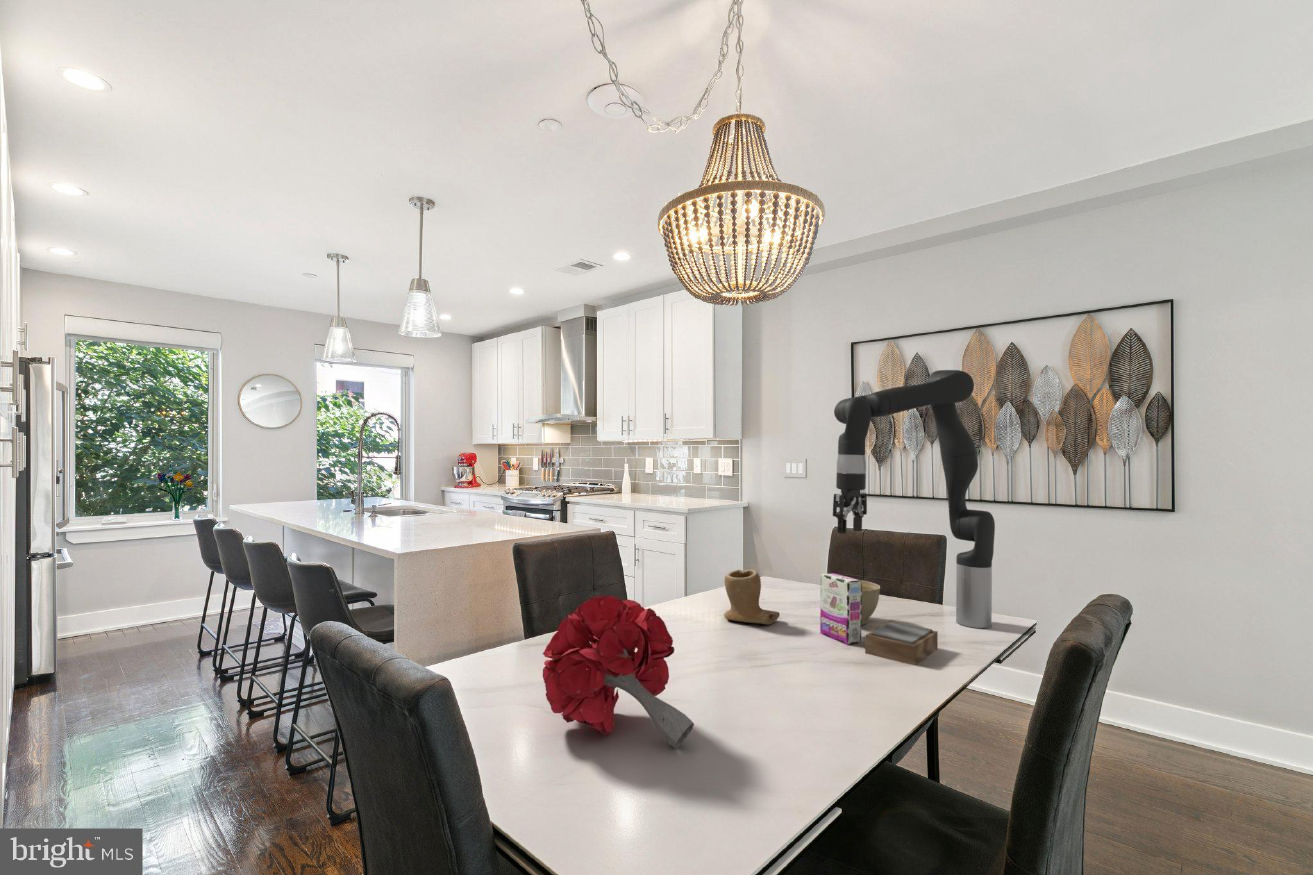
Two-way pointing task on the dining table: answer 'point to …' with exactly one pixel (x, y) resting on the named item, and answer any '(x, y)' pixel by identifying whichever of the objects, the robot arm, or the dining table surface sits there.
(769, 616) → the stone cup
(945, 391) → the robot arm
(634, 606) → the bouquet
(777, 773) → the dining table surface
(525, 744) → the dining table surface
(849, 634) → the candy bar box
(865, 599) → the planter bowl
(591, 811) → the dining table surface
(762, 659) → the dining table surface
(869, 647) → the stand
